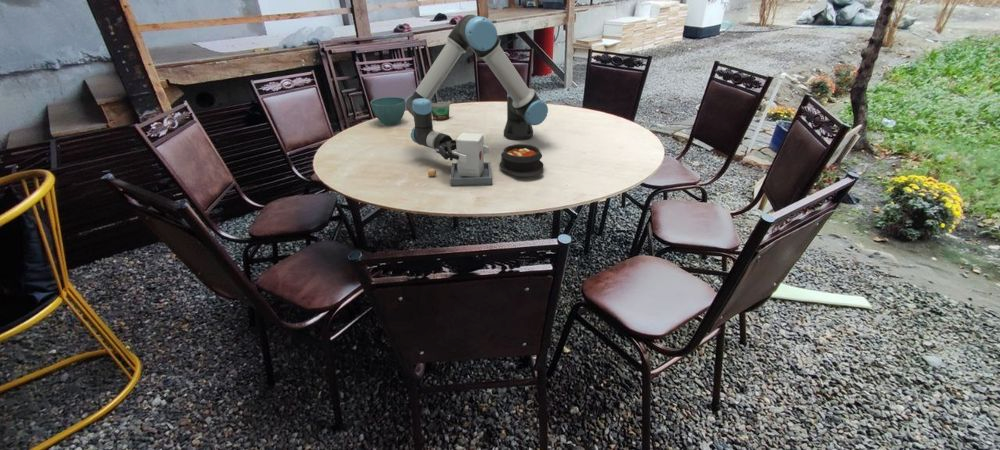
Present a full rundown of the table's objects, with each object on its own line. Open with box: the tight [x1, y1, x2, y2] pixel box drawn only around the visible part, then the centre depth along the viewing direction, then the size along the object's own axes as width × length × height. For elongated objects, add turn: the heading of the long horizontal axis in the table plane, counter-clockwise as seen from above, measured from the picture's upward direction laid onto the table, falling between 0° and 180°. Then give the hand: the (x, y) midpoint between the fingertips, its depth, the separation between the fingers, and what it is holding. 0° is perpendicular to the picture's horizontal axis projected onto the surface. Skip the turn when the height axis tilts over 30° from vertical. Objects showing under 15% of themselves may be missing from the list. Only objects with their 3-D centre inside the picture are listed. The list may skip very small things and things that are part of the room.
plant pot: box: [370, 96, 406, 126], centre depth 228 cm, size 18×18×12 cm
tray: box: [450, 161, 493, 187], centre depth 169 cm, size 16×16×3 cm
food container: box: [430, 99, 451, 122], centre depth 234 cm, size 12×6×10 cm, turn 117°
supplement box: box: [455, 132, 485, 177], centre depth 165 cm, size 9×9×15 cm
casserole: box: [499, 143, 545, 178], centre depth 175 cm, size 25×19×8 cm
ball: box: [427, 168, 437, 177], centre depth 170 cm, size 3×3×3 cm
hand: (477, 154), depth 162 cm, fingers closed on supplement box, 12 cm apart
